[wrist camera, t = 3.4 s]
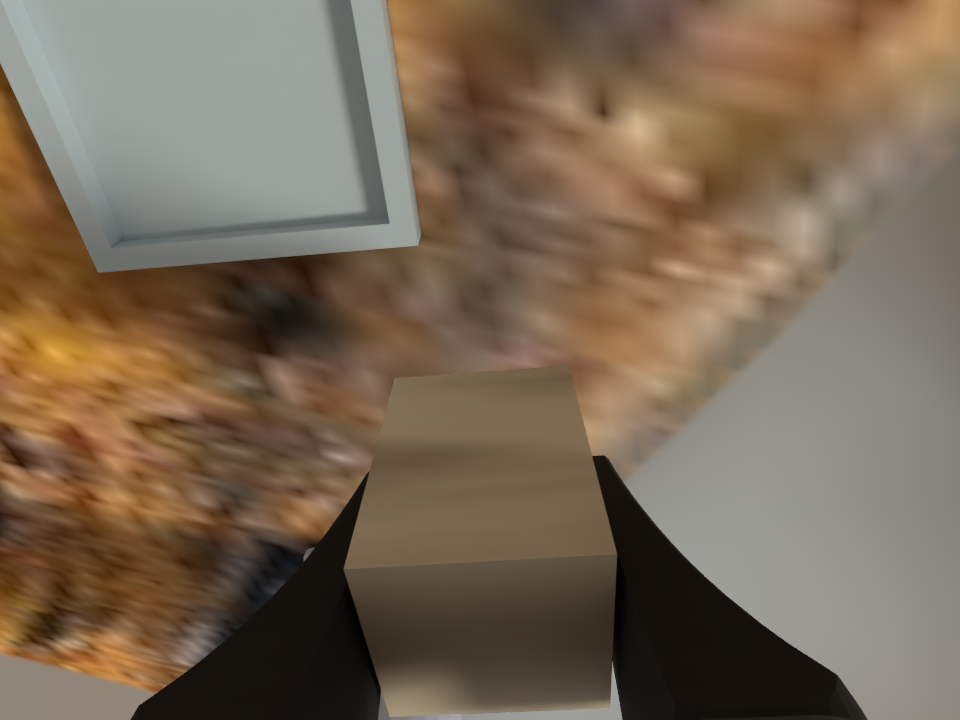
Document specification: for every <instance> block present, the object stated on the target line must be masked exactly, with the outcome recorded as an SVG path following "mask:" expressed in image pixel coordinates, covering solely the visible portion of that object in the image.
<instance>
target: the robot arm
mask: <svg viewBox="0 0 960 720" xmlns="http://www.w3.org/2000/svg"><path fill="white" fill-rule="evenodd" d="M592 458H593V462H594V466H595V470H596V473H597V477H598V481H599V485H600V489H601V493H602V497H603V501H604V505H605V509H606V513H607V516H608V520H609V524H610V528H611V532H612V536H613V540H614V544H615V548H616V552H617V569H616V590H615V611H614V632H613V653H612V661H613V667H614V672H615V678H616V684H617V690H618V695H619V701H620V707H621V712H622V719H623V720H867V718H866V716H865V715H864V713H863V711H862V710H861V708H860V707H859V705H858V704H857V702H856V701H855V699H854V698H853V696H852V695H851V694H850V692H849V691H848V690H847V688H846V687H845V685H844V684H843V682H842V681H841V679H840V678H839V677H838V675H836V674H835V673H833V672H832V671H830V670H829V669H827V668H826V667H824V666H823V665H821V664H819V663H818V662H816V661H815V660H813V659H812V658H810V657H808V656H807V655H805V654H804V653H802V652H801V651H799V650H797V649H796V648H794V647H793V646H791V645H790V644H788V643H787V642H785V641H784V640H783V639H781V638H780V637H778V636H777V635H776V634H774V633H773V632H772V631H770V630H769V629H768V628H766V627H765V626H763V625H762V624H761V623H760V622H758V621H757V620H756V619H754V618H753V617H752V616H751V615H749V614H748V613H747V612H746V611H745V610H743V609H742V608H741V607H740V606H738V605H737V604H736V603H735V602H733V601H732V600H731V599H730V598H728V597H727V596H726V595H725V594H724V593H722V592H721V591H720V590H719V589H718V588H717V587H716V586H715V585H714V584H713V583H711V582H710V581H709V580H708V579H707V578H706V577H704V575H703V574H702V573H701V572H700V571H699V570H698V569H697V568H695V567H694V566H693V565H692V564H691V563H690V562H689V561H688V560H687V559H686V558H685V557H684V556H683V555H682V554H681V553H680V551H678V549H677V548H676V547H675V546H674V545H673V544H672V543H671V542H670V541H669V539H668V538H667V537H666V536H665V535H664V534H663V533H662V532H661V530H659V528H658V527H657V526H656V525H655V523H654V522H653V521H652V520H651V518H650V517H649V516H648V515H647V513H646V512H645V511H644V510H643V509H642V507H641V506H640V505H639V504H638V502H637V501H636V500H635V498H634V497H633V496H632V494H631V493H630V491H629V490H628V488H627V487H626V486H625V484H624V483H623V481H622V480H621V478H620V477H619V475H618V474H617V472H616V471H615V469H614V468H613V466H612V464H611V463H610V461H609V459H608V458H607V457H605V456H604V455H603V456H592ZM369 472H370V471H369ZM369 472H368V473H367V474H366V476H365V477H364V479H363V481H362V482H361V484H360V485H359V487H358V488H357V490H356V491H355V493H354V494H353V496H352V497H351V499H350V500H349V502H348V503H347V505H346V506H345V508H344V509H343V511H342V512H341V514H340V515H339V516H338V518H337V519H336V520H335V522H334V523H333V525H332V526H331V527H330V529H329V530H328V532H327V533H326V534H325V536H324V537H323V538H322V540H321V541H320V542H319V543H318V545H317V546H316V547H315V548H309V549H308V550H306V552H305V554H304V557H303V560H304V562H303V563H302V565H301V566H300V567H299V568H298V569H297V570H296V571H295V573H294V574H293V575H292V576H291V577H290V578H289V579H288V581H287V582H286V583H285V584H284V585H283V586H282V587H281V588H280V589H279V590H278V591H277V592H276V593H275V594H274V596H273V597H272V598H271V599H270V600H269V601H268V602H267V603H266V604H265V605H264V606H262V607H261V608H260V609H259V610H258V611H257V612H256V613H255V614H254V615H253V616H252V617H251V618H250V619H249V620H248V621H247V622H246V623H245V624H244V625H243V626H241V627H240V628H239V629H238V630H237V631H236V632H235V633H234V634H233V635H232V636H230V637H229V638H228V639H227V640H226V641H224V642H223V643H222V644H221V645H220V646H218V647H217V648H216V649H215V650H214V651H212V652H211V653H210V654H209V655H207V656H206V657H205V658H204V659H202V660H201V661H200V662H199V663H197V664H196V665H195V666H193V667H192V668H191V669H190V670H188V671H187V672H186V673H184V674H183V675H181V676H180V677H179V678H177V679H176V680H174V681H173V682H172V683H170V684H169V685H168V686H166V687H165V688H163V689H162V690H161V691H159V692H158V693H156V694H155V695H154V696H152V697H151V698H149V699H148V700H146V701H145V702H143V703H142V704H141V705H139V706H138V708H137V710H136V712H135V713H134V715H133V716H132V718H131V720H462V714H453V715H428V716H404V717H390V716H389V713H388V710H387V707H386V704H385V700H384V697H383V694H382V691H381V688H380V684H379V681H378V678H377V675H376V672H375V668H374V665H373V662H372V659H371V656H370V652H369V649H368V646H367V643H366V640H365V636H364V633H363V630H362V627H361V624H360V620H359V617H358V614H357V611H356V608H355V604H354V601H353V598H352V595H351V592H350V588H349V585H348V582H347V579H346V575H345V572H344V566H345V562H346V558H347V555H348V551H349V547H350V543H351V540H352V536H353V532H354V528H355V525H356V521H357V517H358V513H359V510H360V506H361V502H362V498H363V495H364V491H365V487H366V483H367V480H368V476H369Z"/></svg>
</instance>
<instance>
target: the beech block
mask: <svg viewBox="0 0 960 720" xmlns="http://www.w3.org/2000/svg"><path fill="white" fill-rule="evenodd" d="M616 569H617V552H616V548H615V544H614V540H613V536H612V532H611V528H610V524H609V520H608V516H607V513H606V509H605V505H604V501H603V497H602V493H601V489H600V485H599V481H598V477H597V473H596V470H595V466H594V462H593V458H592V454H591V450H590V446H589V442H588V438H587V434H586V430H585V427H584V423H583V419H582V415H581V411H580V407H579V403H578V399H577V395H576V391H575V388H574V384H573V380H572V376H571V372H570V368H569V366H558V367H544V368H530V369H517V370H503V371H489V372H475V373H462V374H448V375H434V376H420V377H407V378H395V379H394V382H393V386H392V390H391V394H390V397H389V401H388V405H387V409H386V412H385V416H384V420H383V424H382V427H381V431H380V435H379V439H378V442H377V446H376V450H375V454H374V457H373V461H372V465H371V468H370V472H369V476H368V480H367V483H366V487H365V491H364V495H363V498H362V502H361V506H360V510H359V513H358V517H357V521H356V525H355V528H354V532H353V536H352V540H351V543H350V547H349V551H348V555H347V558H346V562H345V566H344V572H345V575H346V579H347V582H348V585H349V588H350V592H351V595H352V598H353V601H354V604H355V608H356V611H357V614H358V617H359V620H360V624H361V627H362V630H363V633H364V636H365V640H366V643H367V646H368V649H369V652H370V656H371V659H372V662H373V665H374V668H375V672H376V675H377V678H378V681H379V684H380V688H381V691H382V694H383V697H384V700H385V704H386V707H387V710H388V713H389V716H390V717H404V716H428V715H453V714H477V713H501V712H526V711H551V710H575V709H600V708H610V695H611V673H612V653H613V632H614V611H615V590H616Z"/></svg>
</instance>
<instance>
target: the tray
mask: <svg viewBox="0 0 960 720" xmlns="http://www.w3.org/2000/svg"><path fill="white" fill-rule="evenodd" d="M0 64H1V66H2V68H3V70H4V72H5V74H6V77H7V79H8V81H9V83H10V85H11V87H12V89H13V92H14V94H15V96H16V98H17V100H18V102H19V104H20V107H21V109H22V111H23V113H24V115H25V117H26V119H27V122H28V124H29V126H30V128H31V130H32V132H33V134H34V137H35V139H36V141H37V143H38V145H39V147H40V150H41V152H42V154H43V156H44V158H45V160H46V162H47V165H48V167H49V169H50V171H51V173H52V175H53V177H54V180H55V182H56V184H57V186H58V188H59V190H60V192H61V195H62V197H63V199H64V201H65V203H66V205H67V207H68V210H69V212H70V214H71V216H72V218H73V220H74V222H75V225H76V227H77V229H78V231H79V233H80V235H81V237H82V240H83V242H84V244H85V246H86V248H87V250H88V252H89V255H90V257H91V259H92V261H93V263H94V265H95V268H96V270H97V272H98V273H102V272H113V271H125V270H137V269H148V268H160V267H172V266H184V265H195V264H207V263H219V262H230V261H242V260H254V259H265V258H277V257H289V256H301V255H312V254H324V253H336V252H347V251H359V250H371V249H382V248H394V247H406V246H418V243H419V240H420V237H421V228H420V221H419V215H418V208H417V201H416V194H415V187H414V181H413V174H412V167H411V160H410V153H409V147H408V140H407V133H406V126H405V120H404V113H403V106H402V99H401V92H400V86H399V79H398V72H397V65H396V59H395V52H394V45H393V38H392V31H391V25H390V18H389V11H388V4H387V0H0Z"/></svg>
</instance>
